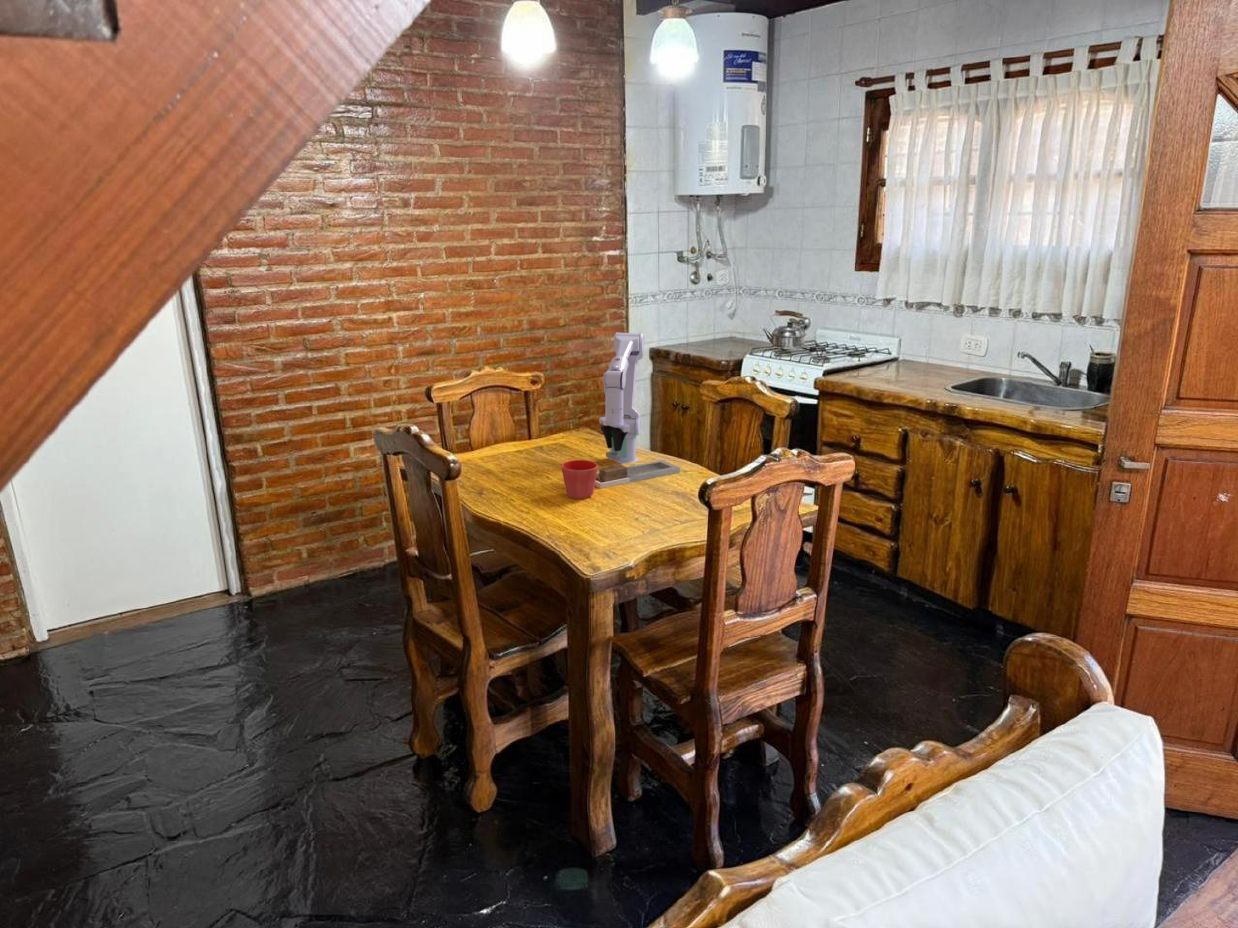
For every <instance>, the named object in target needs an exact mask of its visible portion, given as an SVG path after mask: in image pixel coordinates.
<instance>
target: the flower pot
mask: <svg viewBox="0 0 1238 928" xmlns="http://www.w3.org/2000/svg"><path fill="white" fill-rule="evenodd" d="M598 467H599V466H598V463H596V462H594V461H592V460H587V459H574V460H573V459H572V460H569V461H568V460H567V461H565V462H564V463H562V464H561V473H562V477H563V481H564V486H565V490H566V494H567V497H568V498H570V499H574V500H586V499H589V498H591V497H592V496H593V494H594V489H595V480H596V479H597V478H596V474H597V473H598ZM596 481H597V480H596Z"/></svg>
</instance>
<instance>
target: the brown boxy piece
mask: <svg viewBox="0 0 1238 928" xmlns="http://www.w3.org/2000/svg"><path fill="white" fill-rule="evenodd" d="M598 471H599V472H598V473H599V478H598V479H599V481H598V482H600V483H603V482H608V481H613V480H617V470H616V469H614V468H612V467H610V466H605V467H601V468H599V470H598Z"/></svg>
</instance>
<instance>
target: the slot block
mask: <svg viewBox="0 0 1238 928" xmlns="http://www.w3.org/2000/svg"><path fill="white" fill-rule="evenodd" d="M626 467H627V478H628V477H629V478H630V483H634V482H639V481H640V482H641V481H644V480H649V479H654V478H660V477H664V476H669V475H674V474H679V473H681V467H680V466H678V465H675V464H673V463H670V462H668V461H665V460H663V459H661V460H656V461H655V460H654V461H652V462H646V463H640V464H635V465H629V466H626Z"/></svg>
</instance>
